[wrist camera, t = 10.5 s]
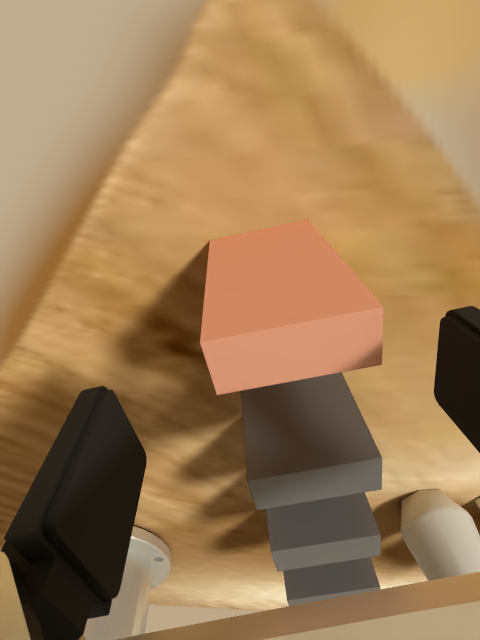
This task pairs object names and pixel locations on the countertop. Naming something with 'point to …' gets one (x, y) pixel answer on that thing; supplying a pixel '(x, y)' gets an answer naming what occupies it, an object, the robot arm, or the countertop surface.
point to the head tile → (284, 310)
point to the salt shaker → (440, 535)
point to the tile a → (307, 442)
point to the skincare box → (478, 502)
